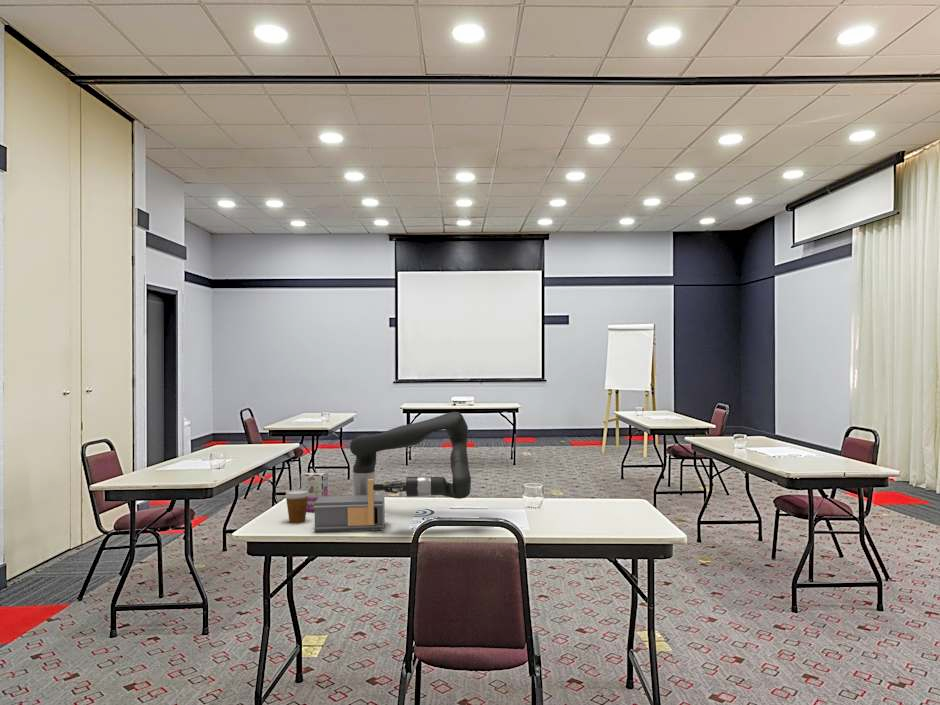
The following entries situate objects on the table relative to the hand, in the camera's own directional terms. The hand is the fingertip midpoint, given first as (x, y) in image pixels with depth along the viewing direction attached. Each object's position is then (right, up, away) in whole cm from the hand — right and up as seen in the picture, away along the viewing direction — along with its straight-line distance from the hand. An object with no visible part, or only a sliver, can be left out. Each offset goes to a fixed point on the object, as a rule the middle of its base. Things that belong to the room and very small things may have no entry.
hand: (373, 487), depth 250 cm
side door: (-5, -15, 0) cm, 16 cm away
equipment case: (-10, -17, +8) cm, 22 cm away
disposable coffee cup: (-34, -18, +19) cm, 43 cm away
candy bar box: (-31, -18, +37) cm, 52 cm away
